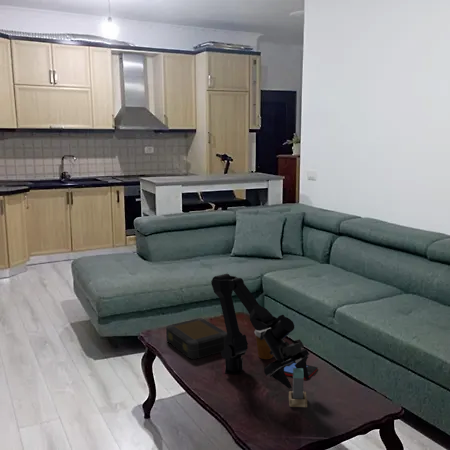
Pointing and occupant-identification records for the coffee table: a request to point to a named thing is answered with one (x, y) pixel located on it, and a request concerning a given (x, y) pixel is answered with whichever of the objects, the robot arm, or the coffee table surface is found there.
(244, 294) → the robot arm
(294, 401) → the open wooden box
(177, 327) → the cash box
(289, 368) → the game console
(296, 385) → the teal-topped square pillar
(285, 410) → the coffee table surface
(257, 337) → the disposable coffee cup
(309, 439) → the coffee table surface
